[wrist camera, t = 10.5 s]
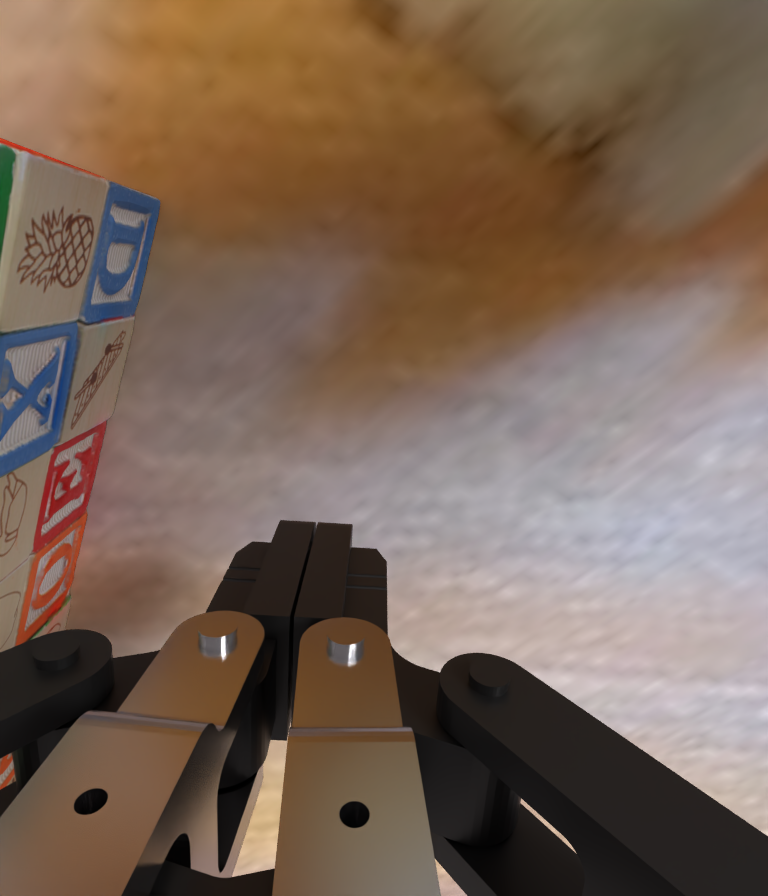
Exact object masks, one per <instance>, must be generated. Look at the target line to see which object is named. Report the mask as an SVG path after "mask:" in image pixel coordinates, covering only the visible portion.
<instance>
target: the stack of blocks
mask: <svg viewBox="0 0 768 896" xmlns="http://www.w3.org/2000/svg"><path fill="white" fill-rule="evenodd" d="M159 209H160V200H158V199H157V198H155V197H153V196H150V195H147V194H145V193H142V192H139V191H136V190H134V189H131V188H128V187H126V186H123V185H120V184H118V183H115V182H112V181H109V180H107V179H105V178H104V177H102V176H99V175H96V174H94V173H91V172H88V171H86V170H83V169H80V168H78V167H75V166H72V165H70V164H67V163H64V162H62V161H59V160H56V159H54V158H51V157H49V156H46V155H43V154H41V153H38V152H35V151H33V150H30V149H28V148H25V147H22V146H20V145H17V144H15V143H12V142H9V141H7V140H4V139H2V138H0V652H3V651H5V650H7V649H10V648H12V647H15V646H17V645H20V644H22V643H24V642H27V641H29V640H32V639H34V638H37V637H40V636H42V635H45V634H49V633H53V632H58V631H63V630H65V627H66V623H67V618H68V614H69V610H70V606H71V599H72V598H71V596H70V594H69V592H70V586H71V584H72V581H73V577H74V571H75V567H76V560H77V557H78V554H79V550H80V546H81V541H82V537H83V532H84V528H85V524H86V520H87V516H88V514H87V510H86V507H87V505H88V502H89V498H90V493H91V489H92V486H93V482H94V478H95V474H96V469H97V465H98V460H99V454H100V450H101V447H102V443H103V438H104V434H105V430H106V420H107V419H109V418H110V417H111V416H112V415H113V412H114V408H115V404H116V400H117V395H118V391H119V386H120V382H121V378H122V374H123V370H124V366H125V361H126V357H127V353H128V349H129V345H130V341H131V337H132V333H133V327H134V321H135V310H136V307H137V305H138V301H139V297H140V294H141V289H142V285H143V280H144V277H145V273H146V268H147V263H148V258H149V253H150V249H151V245H152V241H153V237H154V232H155V227H156V223H157V219H158V215H159ZM15 781H16V779H15V772H14V765H13V758H12V753H10V754H8V755H6V756H4V757H2V758H1V759H0V790H1V789H2V788H4V787H6V786H8V785H9V784H11V783H13V782H15Z"/></svg>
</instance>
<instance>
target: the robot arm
mask: <svg viewBox="0 0 768 896" xmlns="http://www.w3.org/2000/svg"><path fill="white" fill-rule="evenodd" d="M352 528H353V524H338V523H322V522H318V524H317V528H316V523H315V522H304V521H287V520H280V522H279V524H278V527H277V529H276V532H275V534H274V537H273V539H272V542H271V543H268V542H251V543H250V544H248V545H247V546H245V547H244V548H242V549H241V550H240V551H238V552H237V553H236V554H235V556H234V558H233V560H232V562H231V564H230V566H229V569H228V570H227V572H226V574H225V576H224V578H223V581H222V582H221V583H220V585H219V587H218V589H217V591H216V593H215V595H214V597H213V599H212V601H211V603H210V605H209V607H208V609H207V611H206V613H203V614H200V615H197V616H194V617H192V618H190V619H188V620H186V621H185V622H183V623H182V624H180V625H179V626H178V627H177V628H176V629H175V630H174V632H173V633H172V634H171V636H170V637H169V639H168V640H167V641H166V643H165V644H164V646H163V647H162V649H161V650H158V651H154V652H149V653H144V654H137V655H130V656H124V657H117V658H113V655H112V645H111V643H110V641H109V640H108V639H107V638H106V637H105V636H104V635H102V634H100V633H97V632H94V631H90V630H80V629H78V630H63V631H58V632H53V633H49V634H45V635H42V636H40V637H37V638H34V639H32V640H29V641H27V642H24V643H22V644H20V645H17V646H15V647H12V648H10V649H7V650H5V651H3V652H0V759H1V758H2V757H4V756H6V755H8V754H10V753H12V758H13V765H14V772H15V779H16V781H15V782H13V783H11V784H9V785H8V786H6V787H4V788H2V789H1V790H0V896H441V893H440V887H439V881H438V875H437V869H436V863H435V859H436V860H437V861H438V862H439V864H440V865H441V866H442V867H443V868H444V869H445V870H446V872H447V873H448V874H449V875H450V876H451V877H452V878H453V880H454V881H455V882H456V883H457V884H458V885H459V886H460V888H461V889H462V890H463V891H464V892H465V893H466V894H467V896H768V836H766V835H765V834H764V833H762V832H761V831H759V830H758V829H756V828H755V827H753V826H752V825H750V824H749V823H748V822H746V821H745V820H743V819H742V818H740V817H739V816H737V815H736V814H734V813H733V812H732V811H730V810H729V809H727V808H726V807H724V806H723V805H721V804H720V803H718V802H717V801H716V800H714V799H713V798H711V797H710V796H708V795H707V794H705V793H704V792H702V791H701V790H700V789H698V788H697V787H695V786H694V785H692V784H691V783H689V782H688V781H686V780H685V779H683V778H682V777H681V776H679V775H678V774H676V773H675V772H673V771H672V770H670V769H669V768H667V767H666V766H665V765H663V764H662V763H660V762H659V761H657V760H656V759H654V758H653V757H651V756H650V755H649V754H647V753H646V752H644V751H643V750H641V749H640V748H638V747H637V746H635V745H634V744H633V743H631V742H630V741H628V740H627V739H625V738H624V737H622V736H621V735H619V734H618V733H617V732H615V731H614V730H612V729H611V728H609V727H608V726H606V725H605V724H603V723H602V722H601V721H599V720H598V719H596V718H595V717H593V716H592V715H590V714H589V713H587V712H586V711H584V710H583V709H582V708H580V707H579V706H577V705H576V704H574V703H573V702H571V701H570V700H568V699H567V698H566V697H564V696H563V695H561V694H560V693H558V692H557V691H555V690H554V689H552V688H551V687H550V686H548V685H547V684H545V683H544V682H542V681H541V680H539V679H538V678H536V677H535V676H534V675H532V674H531V673H529V672H528V671H526V670H525V669H523V668H522V667H520V666H519V665H517V664H516V663H514V662H512V661H510V660H508V659H505V658H502V657H500V656H496V655H492V654H485V653H468V654H463V655H459V656H457V657H454V658H452V659H451V660H449V661H448V662H447V663H446V664H445V665H444V666H443V668H442V669H441V672H436V671H433V670H429V669H426V668H423V667H420V666H417V665H415V664H413V663H411V662H409V661H407V660H406V659H404V658H403V657H401V656H400V655H399V654H398V653H397V652H396V651H395V650H394V649H393V648H392V646H391V643H390V639H389V637H388V627H387V561H386V560H385V559H384V558H383V557H382V555H381V554H380V553H379V552H378V550H377V549H370V548H354V547H352ZM290 722H291V727H290ZM289 727H290V728H289ZM288 732H289V734H288ZM287 737H288V743H287V753H286V763H285V773H284V783H283V793H282V803H281V813H280V823H279V833H278V843H277V852H276V862H275V869H270V870H265V871H260V872H255V873H251V874H246V875H241V876H236V877H232V875H233V872H234V868H235V865H236V862H237V859H238V856H239V853H240V850H241V847H242V844H243V841H244V838H245V835H246V832H247V828H248V825H249V822H250V819H251V816H252V813H253V810H254V807H255V804H256V801H257V798H258V795H259V792H260V788H261V785H262V781H263V763H264V761H265V759H266V756H267V752H268V748H269V744H270V740H286V741H287ZM521 798H522V799H523V800H524V801H525V802H526V803H527V804H528V805H530V806H531V807H532V808H533V809H534V810H535V811H536V812H537V813H538V814H540V815H541V816H542V817H543V818H544V819H545V820H546V821H547V822H549V823H550V824H551V825H552V826H553V827H554V828H555V829H556V830H557V831H559V832H560V833H561V834H562V835H563V836H564V837H565V838H566V839H567V840H568V841H569V843H570V844H571V845H572V847H573V848H574V849H575V851H576V853H577V854H576V853H575V852H574V851H573V850H572V849H571V848H570V847H568V846H567V845H566V844H565V843H564V842H563V841H562V840H561V839H560V838H558V837H557V836H556V835H555V834H554V833H553V832H552V831H551V830H550V829H549V828H547V827H546V826H545V825H544V824H543V823H542V822H541V821H540V820H539V819H537V818H536V817H535V816H534V815H533V814H532V813H531V812H530V811H529V810H527V809H526V808H525V807H524V806H523V805H522V804H521V803H520V801H521Z"/></svg>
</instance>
